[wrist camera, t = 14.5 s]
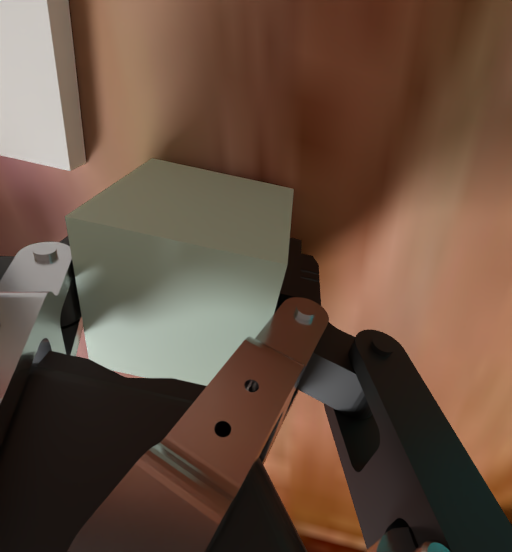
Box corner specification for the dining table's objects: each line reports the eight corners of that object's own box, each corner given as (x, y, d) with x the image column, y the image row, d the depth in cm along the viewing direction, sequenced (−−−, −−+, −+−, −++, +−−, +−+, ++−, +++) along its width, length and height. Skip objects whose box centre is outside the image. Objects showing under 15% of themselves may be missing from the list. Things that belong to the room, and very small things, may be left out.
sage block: (294, 188, 11) (287, 264, 7) (266, 299, 14) (250, 400, 10) (152, 158, 11) (64, 216, 7) (152, 275, 14) (89, 365, 10)
